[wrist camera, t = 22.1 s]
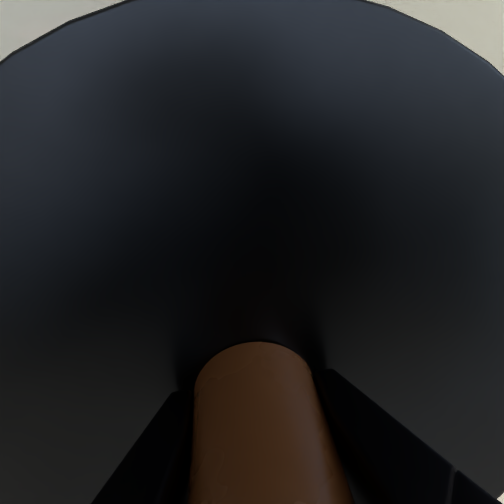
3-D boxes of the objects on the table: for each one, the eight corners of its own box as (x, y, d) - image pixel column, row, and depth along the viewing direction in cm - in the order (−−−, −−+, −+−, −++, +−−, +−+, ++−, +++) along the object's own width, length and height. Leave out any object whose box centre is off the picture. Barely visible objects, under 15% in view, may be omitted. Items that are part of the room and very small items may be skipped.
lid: (368, 600, 14) (443, 854, 10) (-138, 507, 11) (-397, 827, 6) (698, 189, 10) (1165, 299, 5) (-25, -202, 6) (-771, -1067, 2)
